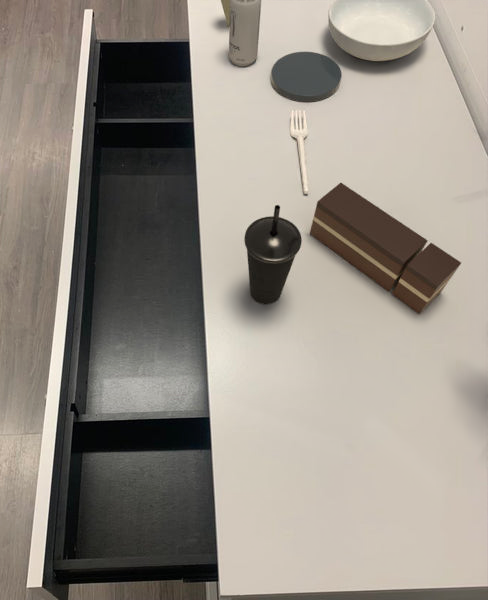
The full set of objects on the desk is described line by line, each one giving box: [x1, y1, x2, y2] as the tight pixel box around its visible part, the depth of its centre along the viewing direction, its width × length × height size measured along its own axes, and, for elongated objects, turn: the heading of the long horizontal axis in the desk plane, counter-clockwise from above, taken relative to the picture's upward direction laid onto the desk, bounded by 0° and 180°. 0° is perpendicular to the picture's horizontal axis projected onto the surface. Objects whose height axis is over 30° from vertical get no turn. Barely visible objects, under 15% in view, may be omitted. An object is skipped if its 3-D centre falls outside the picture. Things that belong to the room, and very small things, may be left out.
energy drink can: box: [228, 0, 262, 67], centre depth 106 cm, size 6×6×15 cm
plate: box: [270, 51, 343, 103], centre depth 108 cm, size 14×14×2 cm
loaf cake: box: [309, 182, 428, 293], centre depth 82 cm, size 6×16×8 cm, turn 42°
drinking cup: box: [243, 204, 303, 305], centre depth 74 cm, size 8×8×20 cm
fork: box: [289, 109, 309, 195], centre depth 97 cm, size 3×20×2 cm, turn 178°
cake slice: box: [391, 242, 462, 315], centre depth 78 cm, size 6×5×8 cm
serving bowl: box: [327, 0, 436, 62], centre depth 110 cm, size 21×21×7 cm
